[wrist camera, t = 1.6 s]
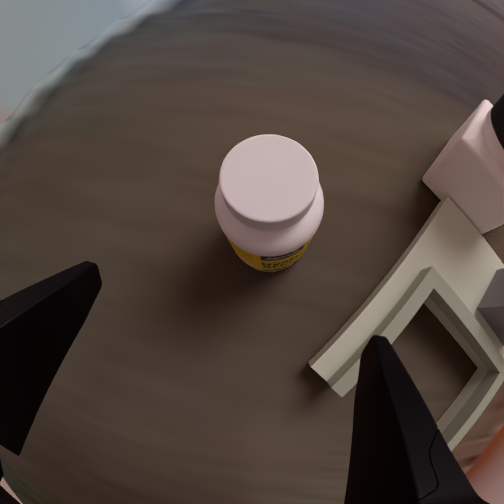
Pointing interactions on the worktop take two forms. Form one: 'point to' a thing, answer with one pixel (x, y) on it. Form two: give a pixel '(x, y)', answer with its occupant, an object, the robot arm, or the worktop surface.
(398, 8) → the worktop surface
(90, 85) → the worktop surface
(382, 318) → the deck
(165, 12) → the worktop surface
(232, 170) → the supplement bottle
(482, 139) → the medicine bottle
